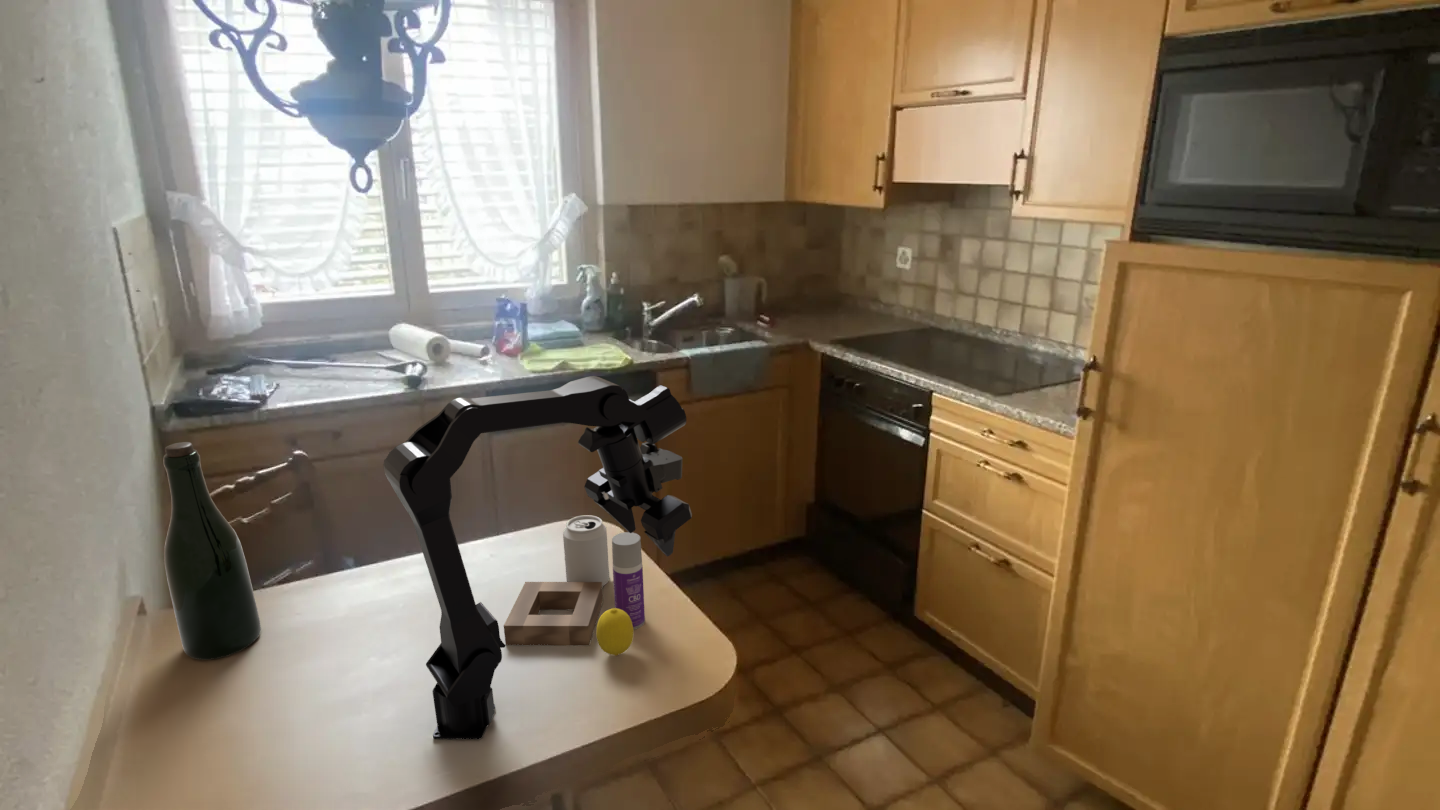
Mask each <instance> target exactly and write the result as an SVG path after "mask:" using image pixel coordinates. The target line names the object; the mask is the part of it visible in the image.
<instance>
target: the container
mask: <svg viewBox="0 0 1440 810" xmlns="http://www.w3.org/2000/svg"><path fill="white" fill-rule="evenodd" d="M641 539H642V538H641V535H639V534H638V533H636V532H632V533H629V532H628V531H625V532H619V533H617V534H615V535H613V537H612V538H611V549H612V550H611V552H612V555H611V556H612V578H613V595H614V608H617V609H621V610H623V611H625V612H626V613H627V614H628V615H629V617H630V619H631V621H632V625H633V630H637V629H640V628H641V627H642V626H644V624H646V623H645V621H646V617H645V616H646V615H645V593H644V570H643V568H644V567H643V566H644V565H643V554H642V553H643V552H642V543H641Z"/></svg>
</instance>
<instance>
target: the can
mask: <svg viewBox="0 0 1440 810" xmlns="http://www.w3.org/2000/svg"><path fill="white" fill-rule="evenodd" d="M562 539H563V541H562V542H563V550H564V551H563V553H564V562H565V563H564V564H565V565H564V566H565V577H566V582H602V588H603V587H604V586H605V585H606V584H608V583H609V581H610V567H609V565H610V564H609V562H610V561H609V548H608V547H609V546H608V533H607V526H606V525H605V524H603V520H602V518H600V517H598V516H596V515H591V514H589V515H588V514H587V515H586V514H585V515H577V516H575V517H572V518H570V519H569V520H567V522H566V525H565V528H564V530H563V531H562Z"/></svg>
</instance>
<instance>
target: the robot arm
mask: <svg viewBox="0 0 1440 810" xmlns="http://www.w3.org/2000/svg"><path fill="white" fill-rule="evenodd" d="M561 423H563V424H565V423H566V424H575V425H581V426H586V427H585V428H584V432H583V433H582V434H581V436H580V437H579V439H578V441H577V443H578V445H579V446H581V447H582V448H584V449H586V450H587V451H588V452H590V453H594V452H595V451H597V453H598V456H599V459H600V462H601V464H602V468H600V469H599V470H598V471H596V472H594V473H593V474H592V475H590V476H589V477H588V478H586V481H585V484H584V489H585V492H586V495H587V497H589V498H590V499H592V500H593V502H594V503H595V504H597V505H598V506H599V507H600V508H601V509H602V510H604V511H605V512H606V514H608V515H609V516H610V517H611V518H613V519H614V520H615V521H616V522H617V523H618V524H620V526H622V528H623V529H625V530H626V532H629V533H634V532H635V531H636V529H637V526H636V521H635V517H634V512H633V507H639V508H640V509H642V510H644V511H643V514H642V516H641V518H640V522H641V526H642V527H643V529H644V531H643V532H644V534H645V535H646V536H647V537H648V538H649V539H650V540H651V541H652V542H653V544H654V545H655V546H656V547H657V548H658V549H659V550H660V551H661V553H662V554H664V556H666V557H670V556H671V555H672V554H673V553H674V549H675V548H674V545H675V539H676V538H675V537H676V531H677V530H678V529H679V528H681V526H683V525H685V524H686V523H687V522H689V521H690V520H691V519H692V516H693V513H692V510H691V507H690V504H689V503H687V502H685V501H683V500H681V499H680V498H679V497H676V496H674V495H671V494H667V495H664V497H663V498H658V497H657V496H655V495H653V493H658V492H659V491H661V490H662V489H663V485H662V484H663V483H667V482H671V481H674V480H681V479H682V478H683V457H682V456H681V455H679V454H676V453H675V452H673V451H671V450H667V449H664V448H660V447H659V448H658V447H657V445H656V443H658V442H660V441H661V440H663V439H664V438H666V437H668V436H669V435H671V434H673V433H674V432H676V431H677V430H679V429H681V428H682V427H685V425H686V424H687V415H686V412H685V409H684V408H682V406H681V404H680V403H679V401H678V400H677V398H675V396H673V394H672V392H671V389H670V388H669V387H667V386H664V385H658V386H656V387H655V388H654V389H652V391H650V392H649V393H646V394H645V395H644V396H642V397H640V398H639V399H636V400H635V401H634V400H632V399H630V396H629V394H628V392H627V391H626V389H624V388H623V387H622V386H620V385H618V384H616V383H614V382H612V381H609V380H607V379H604V378H602V377H599V376H596V375H591V376H590V375H589V376H586V377H585V376H584V377H582V378H579V379H575V380H571V381H569V382H567V383H566V384H564V385H562V386H560V387H558V388H555V389H551V390H539V391H533V392H532V391H531V392H530V391H529V392H522V393H521V392H520V393H513V394H512V393H511V394H500V395H493V396H483V397H472V398H468V397H457V398H454V399H452V400H451V401H449V402H448V403H447V404H446V405H445V406H444V407H443V409H441V411H440V412H439V413H438V414H436V415H435V416H434V417H432V418H431V419H430V420H428V421H427V422H425V423H423V425H421V426H419V427H418V428H417V429H416V430H414V432H413V433H412V434H411V435H410V436H409V437H408V438H407V440H406V441H405V442H404V443H401V444H398V445H397V446H395V447H394V448H393V449H391V451H389V452H388V454H387V456H386V458H385V459H384V461H383V471H384V474H385V477H386V479H387V481H388V482H389V484H390V486H391V487H392V489H393V491H394V493H395V494H396V496H397V498H398V499H399V501H400V502H401V504H402V506H403V507H404V509H405V510H406V512H407V514H409V515H408V516H409V517H410V518H411V520H412V523H413V526H414V529H415V530H414V531H415V533H416V536H417V539H418V542H419V545H420V548H421V551H422V554H423V557H424V561H425V563H426V567H427V569H428V573H429V576H430V579H431V582H432V583H431V584H432V585H433V586H432V587H433V589H434V591H435V596H436V598H437V601H438V603H439V608H440V611H441V614H440V615H441V616H440V621H439V635H440V644H439V645H438V647H437V648H436V649H435V650H434V652H433V653H432V655H431V656H430V658H429V659H428V660H427V662H425V666H426V668H427V669H428V671H429V672H430V674H431V676H432V677H433V678H434V680H435V682H436V683H435V685H434V687H433V689H432V696H433V697H432V699H433V704H434V712H435V718H436V724H437V725H436V727H435V729H434V731H433V733H432V737H433V739H434V740H481V739H482V738H483V737H484V735H485V733H486V731H487V728H488V727H489V726H490V724H491V722H492V720H493V717H494V716H495V713H496V703H495V702H494V701H495V700H494V692H493V688H492V687H491V685H492V682H493V679H494V675H495V670H496V669H497V668H498V666H499V664H500V663H502V658H503V653H502V652H503V651H502V649H503V648H506V646H507V645H506V643H504V642H503V641H502V639H501V635H500V634H501V633H500V626H499V622H498V620H497V619H496V618H495V617H494V615H492V613H491V612H490V611H489V610H488V608H487V607H486V606H485V605H484V604H483V603H482V602H481V601H480V602H478V603H477V604H476V602H475V598H474V594H473V591H472V588H471V584H470V581H469V577H468V574H467V572H466V567H465V564H464V561H463V558H462V553H461V551H460V548H459V545H458V540H457V538H456V534H455V531H454V527H453V525H452V521H451V515H450V511H451V506H452V501H453V500H452V499H453V495H452V493H453V492H452V485H451V484H452V483H451V478H452V477H453V476H454V475H455V473H457V471H458V470H459V469H460V468H461V466H462V465H463V463H464V461H465V460H466V458H467V456H468V453H469V451H470V449H471V447H473V446H472V445H473V444H474V442H475V441H476V440H477V439H478V437H479V436H481V434H487V433H494V432H495V433H496V432H501V431H509V430H510V431H511V430H515V429H517V430H518V429H523V428H531V427H542V426H547V425H554V424H561ZM591 427H594V428H591ZM639 441H640V442H642V443H641V444H640V443H639Z"/></svg>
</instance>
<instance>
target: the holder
mask: <svg viewBox="0 0 1440 810" xmlns="http://www.w3.org/2000/svg"><path fill="white" fill-rule="evenodd" d="M603 594H604V593H603V587H602V582H567V581H525V582H524V584H523V586H522V588H521V590H520V592H519V593H518V596H517V598H516V600H515V601H514V604H513V606H512V608H511V610H510V613H509V614H508V616H507V618H506V620H505V622H504V624H503V633H504V642H505V643H504V644H505V645H506V646H550V647H551V646H555V647H557V646H567V647H568V646H569V647H570V646H573V647H574V646H576V647H577V646H579V647H581V646H582V647H583V646H584V647H588V646H589V647H590V645H591V642H592V638H593V634H594V631H595V628H596V627H597V623H598V620H599V616H600V612H601V608H602V605H603V602H604V595H603ZM541 610H542V611H545V610H546V611H556V610H557V611H573V612H572V614H540V612H541Z"/></svg>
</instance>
